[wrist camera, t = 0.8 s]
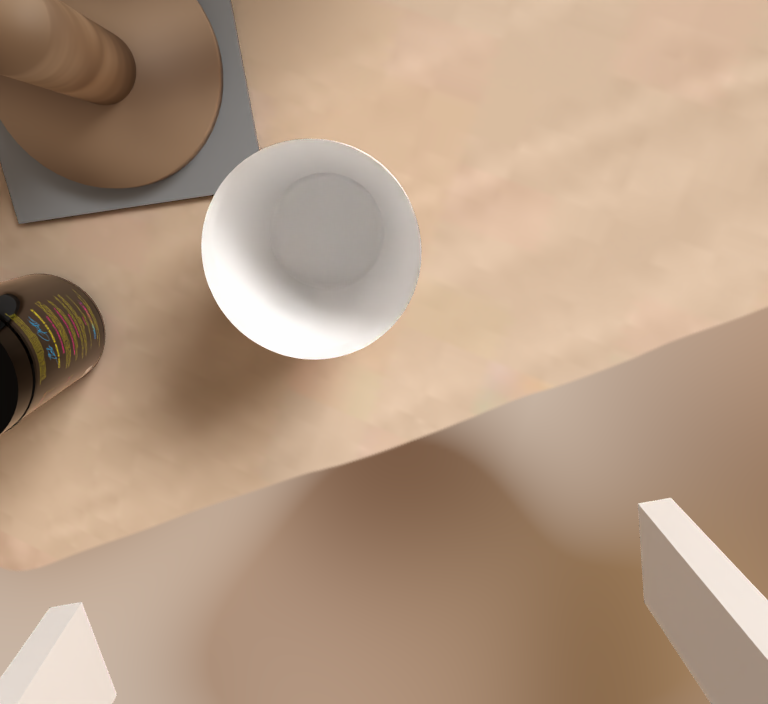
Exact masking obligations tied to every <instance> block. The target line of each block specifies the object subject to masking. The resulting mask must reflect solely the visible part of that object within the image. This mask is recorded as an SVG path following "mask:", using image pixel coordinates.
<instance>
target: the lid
mask: <svg viewBox="0 0 768 704" xmlns="http://www.w3.org/2000/svg"><path fill="white" fill-rule="evenodd" d="M222 95H223V66H222V58H221V53H220V49H219V45H218V41H217V38H216V36H215V33H214V30H213V28H212V25H211V23H210V21H209V19H208V17H207V15H206V14H205V12H204V10H203V8H202V7H201V5H200V4H199V2H198V1H197V0H0V120H1V121H2V123H3V124H4V126H5V128H6V129H7V131H8V132H9V133H10V134H11V136H12V137H13V138H14V139H15V141H16V142H17V143H18V144H19V145H20V146H21V147H22V148H23V149H24V150H25V151H26V152H27V153H28V154H29V155H30V156H31V157H33V158H34V159H35V160H37V161H38V162H39V163H40V164H42V165H43V166H45V167H46V168H48V169H50V170H51V171H53V172H55V173H56V174H58V175H60V176H63V177H65V178H67V179H69V180H72V181H75V182H78V183H81V184H84V185H89V186H94V187H99V188H134V187H141V186H145V185H150V184H153V183H156V182H158V181H161V180H164V179H166V178H168V177H169V176H171V175H173V174H175V173H177V172H178V171H179V170H181V169H182V168H183V167H185V166H186V165H187V164H188V163H189V162H190V161H191V160H192V159H193V158H194V157H195V156H196V155H197V154H198V153H199V152H200V150H201V149H202V148H203V146H204V145H205V144H206V142H207V140H208V138H209V136H210V135H211V133H212V131H213V129H214V126H215V124H216V121H217V118H218V115H219V111H220V107H221V103H222Z"/></svg>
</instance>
